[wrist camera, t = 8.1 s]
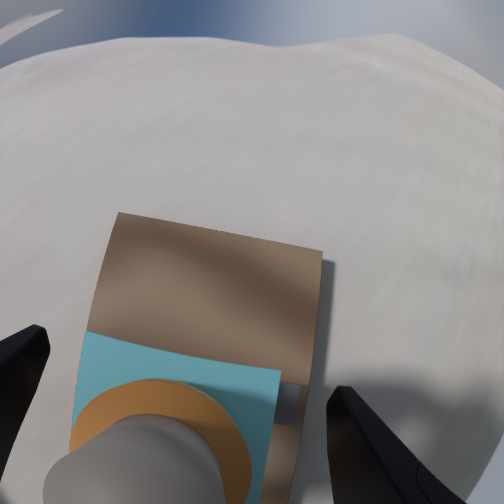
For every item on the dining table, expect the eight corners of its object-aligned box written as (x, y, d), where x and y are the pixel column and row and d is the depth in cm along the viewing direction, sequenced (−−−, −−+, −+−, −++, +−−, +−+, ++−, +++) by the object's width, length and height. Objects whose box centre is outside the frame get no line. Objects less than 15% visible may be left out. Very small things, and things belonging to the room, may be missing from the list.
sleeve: (236, 487, 7) (251, 535, 4) (105, 461, 7) (70, 497, 4) (256, 366, 9) (281, 370, 6) (121, 340, 8) (85, 330, 5)
